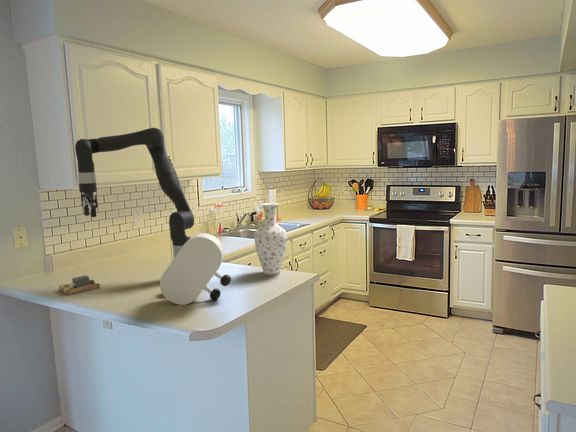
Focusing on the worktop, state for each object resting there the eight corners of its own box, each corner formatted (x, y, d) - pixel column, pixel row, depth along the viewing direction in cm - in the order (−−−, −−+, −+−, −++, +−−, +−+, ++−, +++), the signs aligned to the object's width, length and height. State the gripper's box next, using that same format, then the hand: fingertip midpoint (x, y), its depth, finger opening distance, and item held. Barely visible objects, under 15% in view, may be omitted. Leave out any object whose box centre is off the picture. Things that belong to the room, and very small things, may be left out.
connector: (95, 284, 206) (94, 275, 205) (71, 290, 199) (70, 281, 198) (92, 283, 209) (90, 273, 208) (68, 289, 201) (67, 279, 201)
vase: (271, 267, 234) (269, 201, 229) (294, 272, 224) (292, 203, 219) (249, 274, 222) (246, 204, 217) (272, 279, 212) (270, 206, 207)
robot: (246, 259, 186) (198, 225, 183) (244, 264, 177) (195, 229, 174) (204, 314, 188) (157, 282, 186) (201, 322, 180) (152, 288, 177)
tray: (99, 288, 204) (99, 283, 204) (67, 295, 194) (67, 290, 194) (90, 283, 212) (90, 279, 212) (59, 290, 202) (59, 285, 202)
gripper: (101, 182, 206) (104, 216, 208) (89, 181, 216) (92, 214, 218) (84, 183, 201) (87, 218, 203) (73, 182, 211) (76, 216, 213)
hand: (90, 216), depth 211 cm, fingers open, 8 cm apart
